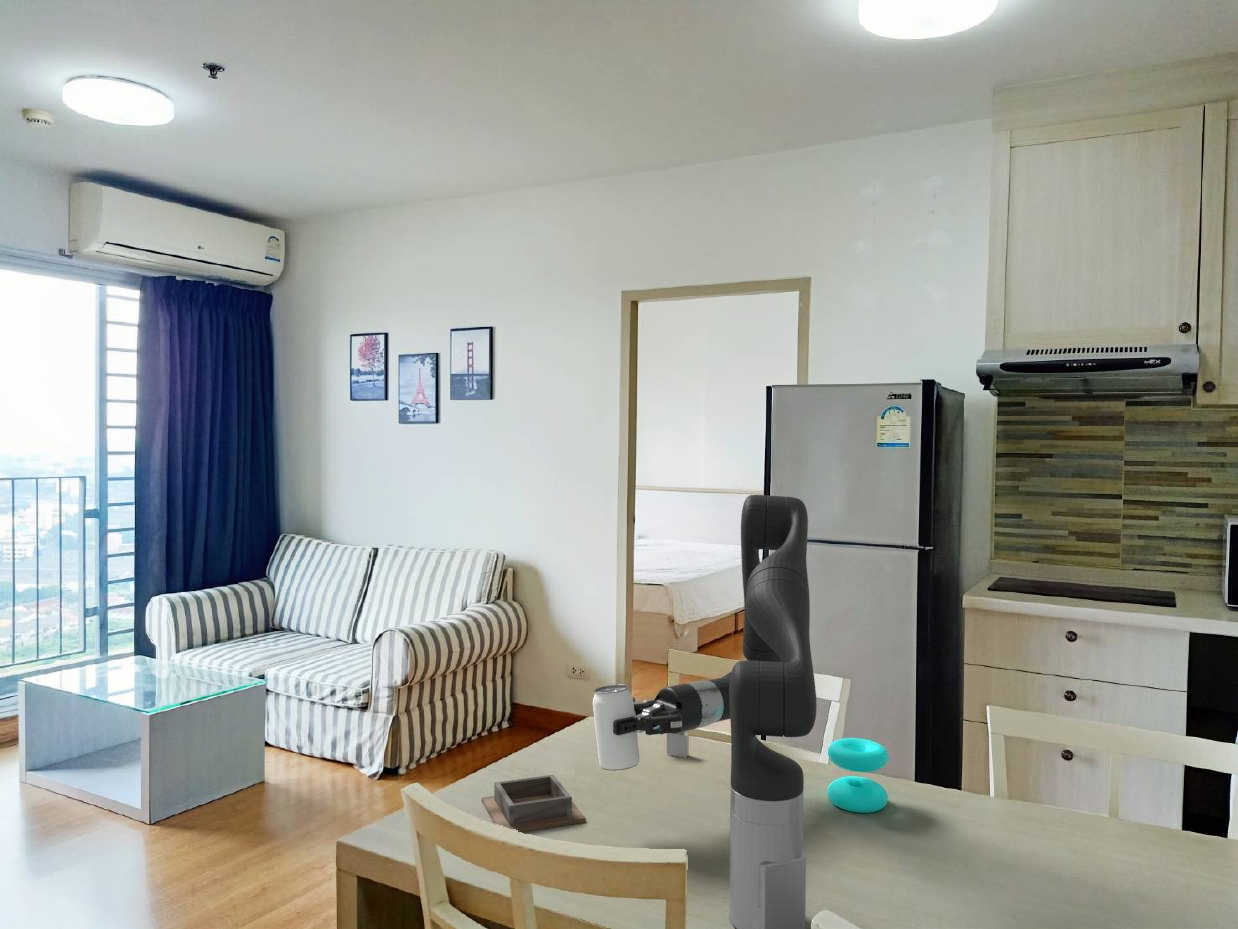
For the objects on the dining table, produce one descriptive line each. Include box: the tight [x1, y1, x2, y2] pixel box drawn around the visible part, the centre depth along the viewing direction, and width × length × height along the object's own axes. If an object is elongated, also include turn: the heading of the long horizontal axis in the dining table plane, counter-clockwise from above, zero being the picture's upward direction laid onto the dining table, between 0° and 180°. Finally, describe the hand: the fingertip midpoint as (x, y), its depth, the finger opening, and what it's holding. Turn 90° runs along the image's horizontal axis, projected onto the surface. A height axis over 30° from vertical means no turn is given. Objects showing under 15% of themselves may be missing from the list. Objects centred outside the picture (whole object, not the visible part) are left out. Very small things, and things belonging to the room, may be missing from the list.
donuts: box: [826, 737, 889, 813], centre depth 149 cm, size 10×10×10 cm
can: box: [592, 684, 640, 772], centre depth 138 cm, size 6×6×12 cm
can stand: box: [481, 774, 587, 833], centre depth 145 cm, size 14×14×4 cm
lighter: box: [660, 731, 690, 758], centre depth 173 cm, size 7×2×8 cm, turn 65°
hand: (606, 724), depth 136 cm, fingers closed on can, 4 cm apart
